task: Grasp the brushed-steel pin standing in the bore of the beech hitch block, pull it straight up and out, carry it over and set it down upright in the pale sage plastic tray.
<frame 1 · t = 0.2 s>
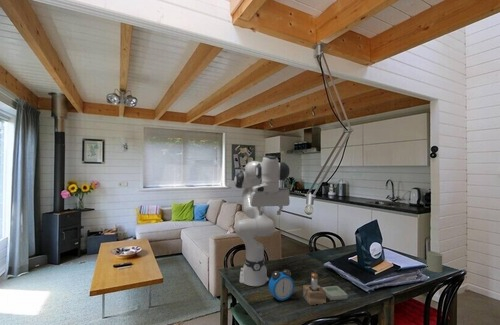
hand: (269, 215, 127), 47 cm above the table, fingers open, 8 cm apart
tray: (334, 295, 141), on the table
hitch block: (314, 299, 135), on the table
alarm clock: (281, 298, 137), on the table
can: (434, 270, 177), on the table
pin: (314, 286, 135), in the hitch block
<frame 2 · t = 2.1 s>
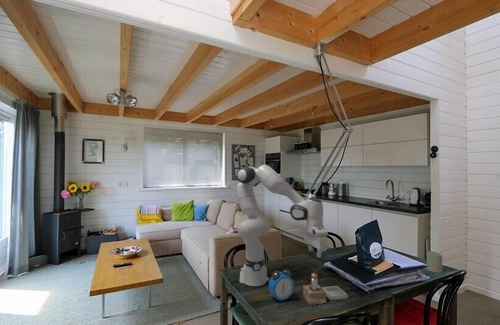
hand: (314, 253, 136), 25 cm above the table, fingers open, 8 cm apart
nothing on the table moved.
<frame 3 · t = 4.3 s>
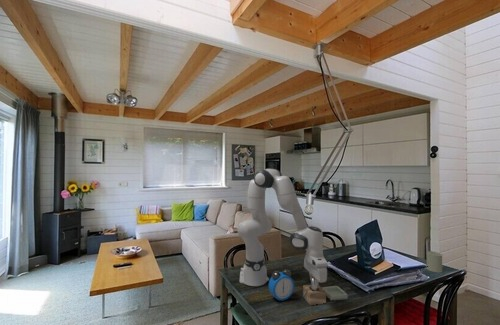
hand: (314, 283, 136), 9 cm above the table, fingers closed on pin, 3 cm apart
pin: (314, 286, 135), in the hitch block, touching gripper
everything else where it was.
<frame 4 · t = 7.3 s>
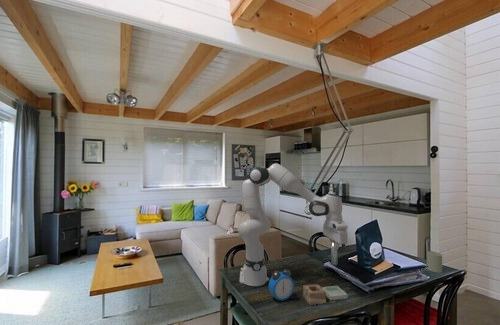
hand: (334, 247, 140), 27 cm above the table, fingers closed on pin, 3 cm apart
pin: (334, 251, 140), point 25 cm above the table, touching gripper
everything else where it was.
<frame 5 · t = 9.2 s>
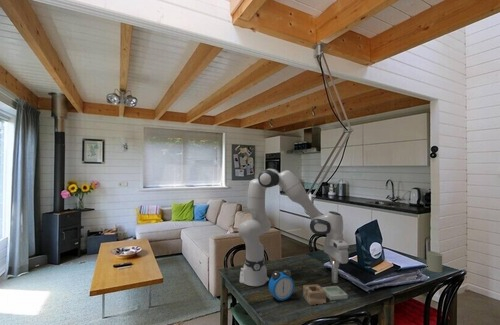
hand: (334, 265, 141), 17 cm above the table, fingers closed on pin, 3 cm apart
pin: (334, 269, 141), point 14 cm above the table, touching gripper
everything else where it was.
when the fingers open (11 cm above the table, at t = 10.6 s): pin stays where it is, resting on tray.
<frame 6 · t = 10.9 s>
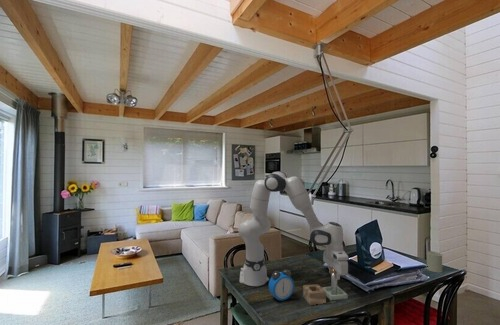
hand: (334, 276, 141), 11 cm above the table, fingers open, 5 cm apart
pin: (334, 281, 141), in the tray, point 8 cm above the table
everything else where it was.
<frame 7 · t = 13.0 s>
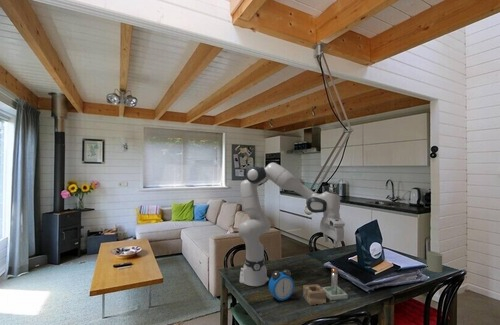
hand: (330, 244, 141), 28 cm above the table, fingers open, 8 cm apart
nothing on the table moved.
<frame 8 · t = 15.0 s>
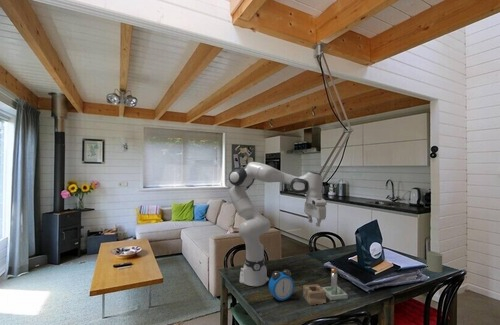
hand: (314, 224, 143), 39 cm above the table, fingers open, 8 cm apart
nothing on the table moved.
at the end: pin inside the target area on the tray (0.1 cm from its centre), point 7.6 cm above the tray's base; pin tilted 1°; the gripper is holding nothing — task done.
